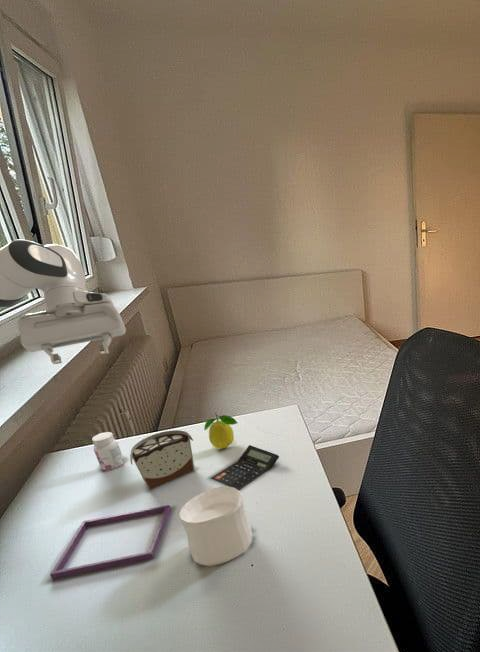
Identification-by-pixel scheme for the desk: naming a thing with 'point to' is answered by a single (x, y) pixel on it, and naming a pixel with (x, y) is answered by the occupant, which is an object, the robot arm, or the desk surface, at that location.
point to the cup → (216, 526)
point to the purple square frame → (60, 573)
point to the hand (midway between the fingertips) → (81, 357)
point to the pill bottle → (107, 451)
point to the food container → (163, 457)
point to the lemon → (221, 431)
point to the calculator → (247, 468)
